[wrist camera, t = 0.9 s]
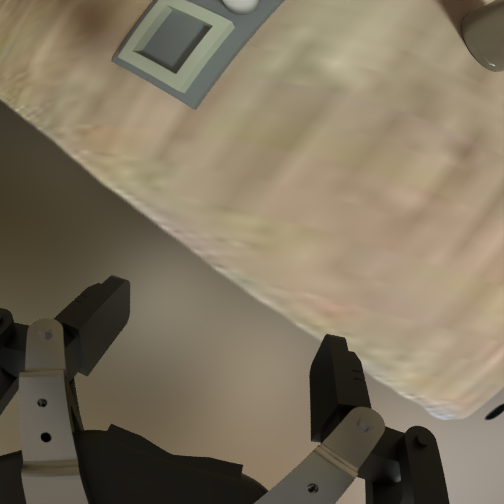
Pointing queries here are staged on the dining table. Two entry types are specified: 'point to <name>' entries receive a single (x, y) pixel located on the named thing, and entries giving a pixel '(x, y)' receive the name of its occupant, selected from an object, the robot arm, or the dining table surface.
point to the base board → (190, 43)
